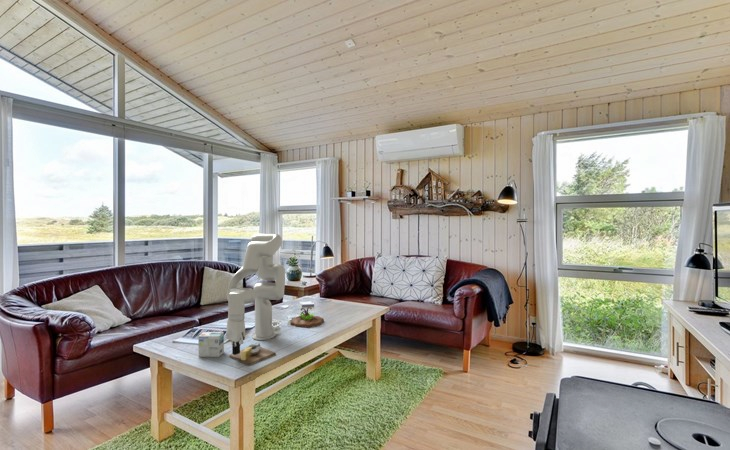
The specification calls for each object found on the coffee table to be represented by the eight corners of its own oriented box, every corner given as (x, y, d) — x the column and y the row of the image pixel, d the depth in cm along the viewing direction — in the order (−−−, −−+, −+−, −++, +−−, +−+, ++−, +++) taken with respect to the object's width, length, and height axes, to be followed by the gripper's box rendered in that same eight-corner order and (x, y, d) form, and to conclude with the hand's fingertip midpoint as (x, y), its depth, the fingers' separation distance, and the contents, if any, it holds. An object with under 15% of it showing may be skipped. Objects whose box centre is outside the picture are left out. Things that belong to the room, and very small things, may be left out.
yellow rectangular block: (252, 348, 191) (252, 340, 190) (263, 349, 189) (263, 341, 189) (237, 359, 176) (237, 351, 176) (249, 360, 175) (249, 352, 175)
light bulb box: (224, 351, 189) (224, 331, 189) (219, 357, 183) (219, 336, 182) (203, 351, 189) (203, 331, 188) (198, 357, 182) (197, 335, 182)
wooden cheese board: (255, 347, 196) (255, 337, 196) (275, 354, 186) (275, 344, 186) (229, 356, 183) (229, 346, 183) (249, 365, 173) (249, 354, 173)
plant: (311, 330, 226) (311, 312, 225) (285, 325, 234) (285, 308, 233) (327, 321, 244) (328, 304, 243) (303, 317, 252) (303, 301, 252)
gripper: (221, 315, 181) (221, 352, 181) (238, 321, 171) (237, 360, 172) (234, 312, 187) (234, 347, 187) (251, 318, 177) (251, 355, 178)
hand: (236, 353), depth 180 cm, fingers closed
